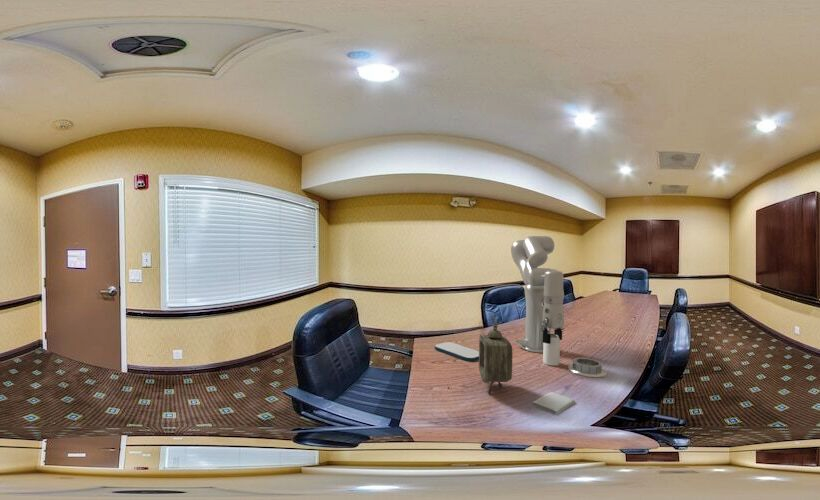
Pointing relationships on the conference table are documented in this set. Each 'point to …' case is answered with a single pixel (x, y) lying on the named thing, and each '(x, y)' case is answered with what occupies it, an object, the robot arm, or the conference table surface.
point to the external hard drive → (458, 351)
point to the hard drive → (553, 402)
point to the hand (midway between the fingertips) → (552, 341)
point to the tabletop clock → (495, 357)
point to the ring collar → (587, 367)
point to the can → (552, 351)
